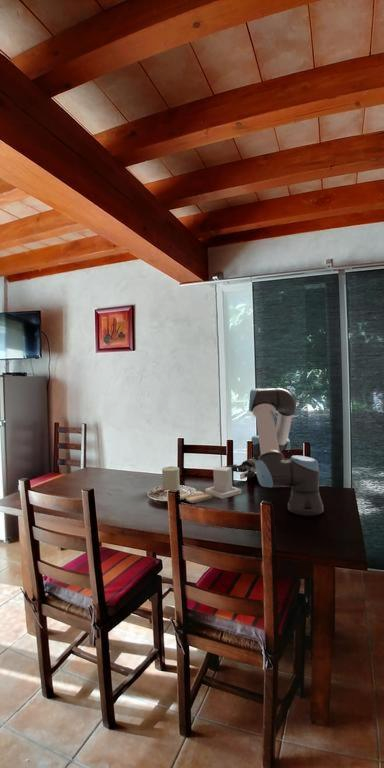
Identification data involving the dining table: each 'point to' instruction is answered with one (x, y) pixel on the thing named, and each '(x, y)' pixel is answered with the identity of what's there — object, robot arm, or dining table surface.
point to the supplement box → (222, 479)
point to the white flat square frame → (223, 495)
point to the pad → (196, 496)
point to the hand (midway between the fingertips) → (229, 474)
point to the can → (170, 478)
